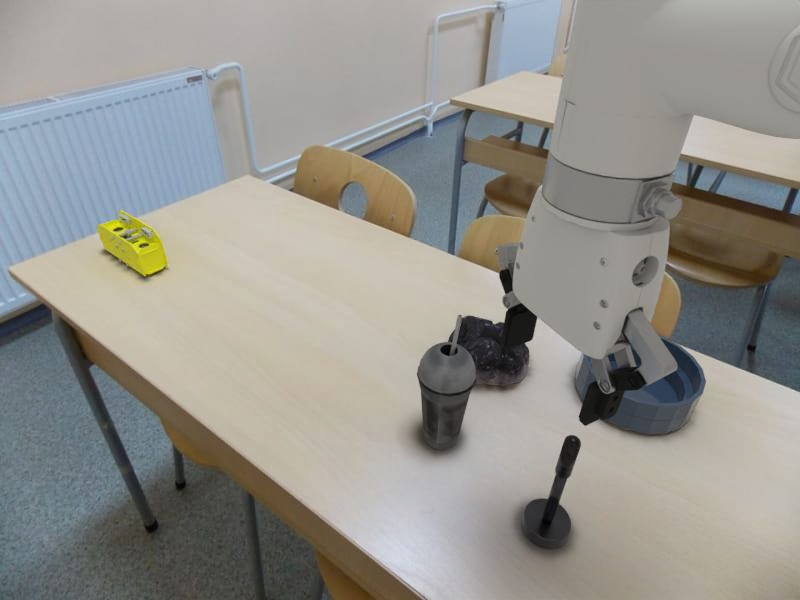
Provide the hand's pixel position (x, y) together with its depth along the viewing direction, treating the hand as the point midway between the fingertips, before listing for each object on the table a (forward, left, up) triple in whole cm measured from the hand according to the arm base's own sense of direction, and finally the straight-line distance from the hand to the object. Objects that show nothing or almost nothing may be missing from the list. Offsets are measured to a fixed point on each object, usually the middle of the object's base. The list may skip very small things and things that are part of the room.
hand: (552, 377), depth 43 cm
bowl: (+14, -29, -25) cm, 41 cm away
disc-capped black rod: (0, -5, -25) cm, 26 cm away
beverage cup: (+16, +1, -26) cm, 30 cm away
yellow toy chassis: (+77, +41, -26) cm, 91 cm away
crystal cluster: (+27, -12, -26) cm, 39 cm away
